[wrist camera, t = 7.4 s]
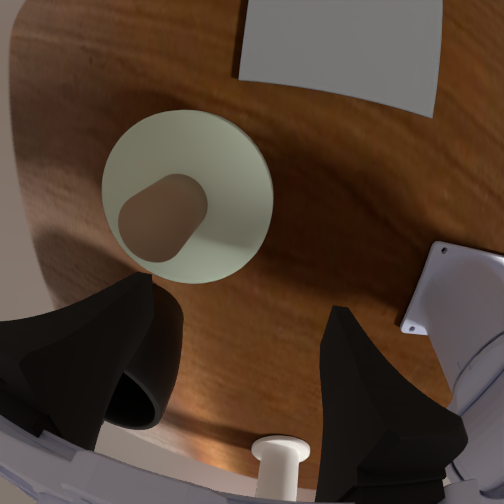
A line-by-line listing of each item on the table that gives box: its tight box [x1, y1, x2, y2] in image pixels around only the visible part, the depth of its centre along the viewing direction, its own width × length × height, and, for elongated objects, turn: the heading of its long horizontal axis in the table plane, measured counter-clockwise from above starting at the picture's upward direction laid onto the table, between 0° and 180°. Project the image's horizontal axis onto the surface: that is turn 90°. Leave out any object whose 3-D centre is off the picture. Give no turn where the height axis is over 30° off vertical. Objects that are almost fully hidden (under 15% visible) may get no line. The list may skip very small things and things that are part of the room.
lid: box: [102, 110, 274, 283], centre depth 14 cm, size 9×9×5 cm
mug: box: [102, 285, 184, 430], centre depth 22 cm, size 8×12×10 cm
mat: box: [238, 0, 442, 118], centre depth 14 cm, size 12×10×1 cm
